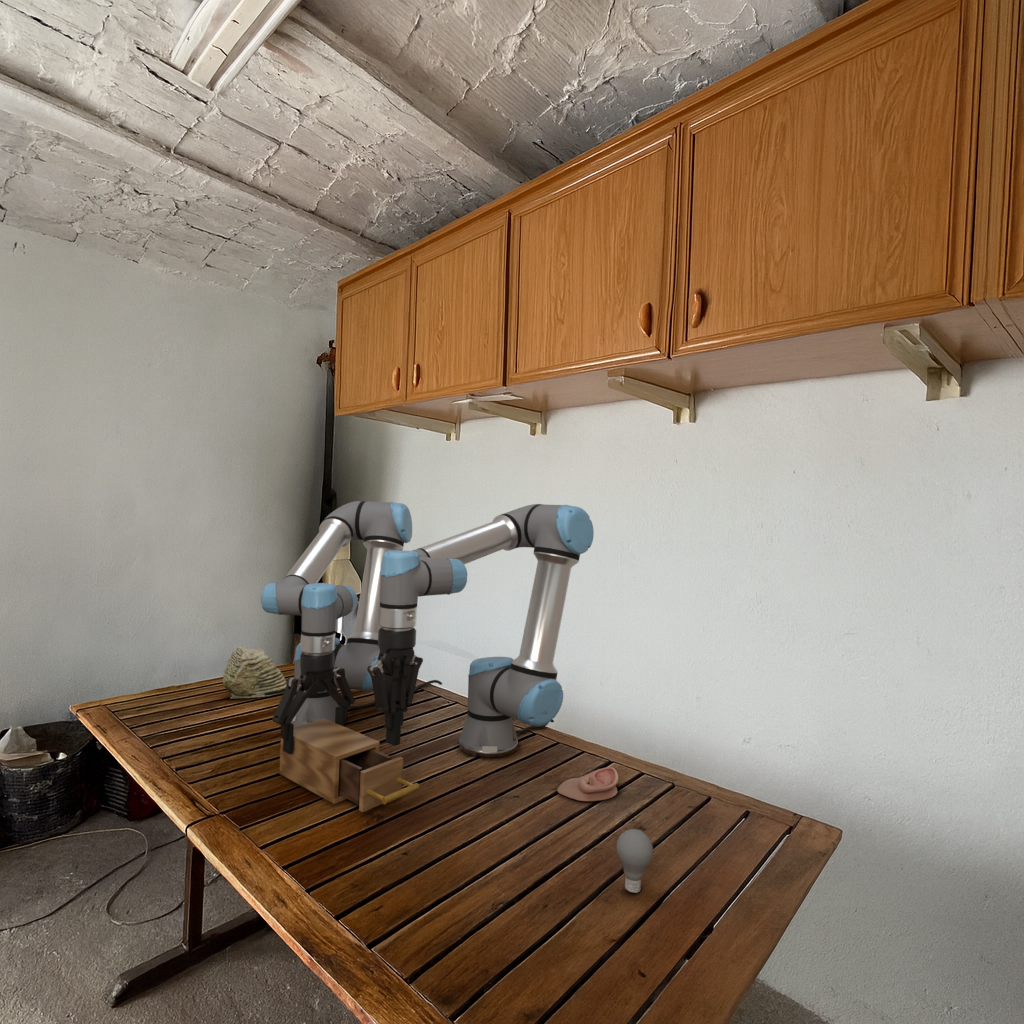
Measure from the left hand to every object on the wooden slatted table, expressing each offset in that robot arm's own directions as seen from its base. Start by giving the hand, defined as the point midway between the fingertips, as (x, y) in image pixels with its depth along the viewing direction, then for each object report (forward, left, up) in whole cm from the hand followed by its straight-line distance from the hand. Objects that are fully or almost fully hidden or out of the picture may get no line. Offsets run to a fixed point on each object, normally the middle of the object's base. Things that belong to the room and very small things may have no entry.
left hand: (314, 743), depth 145 cm
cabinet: (0, +6, -6) cm, 9 cm away
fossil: (-19, -60, -6) cm, 64 cm away
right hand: (0, +27, +8) cm, 28 cm away
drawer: (0, +18, -6) cm, 19 cm away
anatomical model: (-36, +51, -6) cm, 63 cm away
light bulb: (-10, +76, -6) cm, 77 cm away
